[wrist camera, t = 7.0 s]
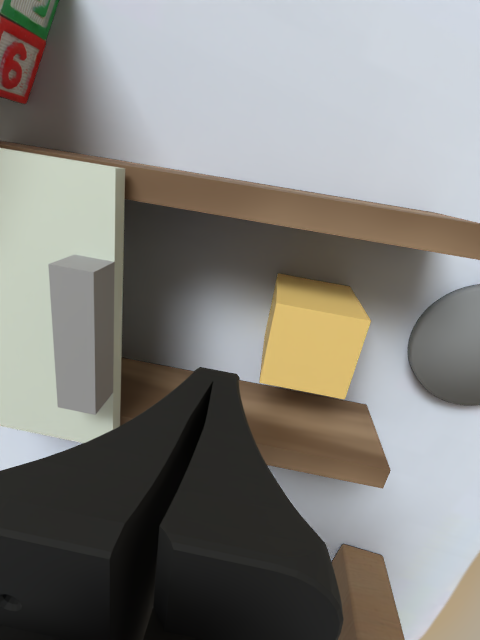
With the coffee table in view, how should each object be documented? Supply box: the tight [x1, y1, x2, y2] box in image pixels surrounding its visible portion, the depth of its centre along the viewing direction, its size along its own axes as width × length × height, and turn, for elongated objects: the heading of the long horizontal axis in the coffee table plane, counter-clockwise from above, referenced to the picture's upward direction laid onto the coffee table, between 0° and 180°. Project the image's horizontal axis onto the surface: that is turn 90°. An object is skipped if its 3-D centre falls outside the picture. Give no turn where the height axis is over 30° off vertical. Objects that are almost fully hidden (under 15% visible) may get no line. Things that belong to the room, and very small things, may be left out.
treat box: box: [0, 141, 480, 488], centre depth 18 cm, size 13×22×5 cm, turn 81°
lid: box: [0, 148, 125, 443], centre depth 14 cm, size 13×9×2 cm
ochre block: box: [259, 273, 371, 400], centre depth 18 cm, size 4×4×5 cm
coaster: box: [408, 284, 480, 405], centre depth 19 cm, size 7×7×1 cm
